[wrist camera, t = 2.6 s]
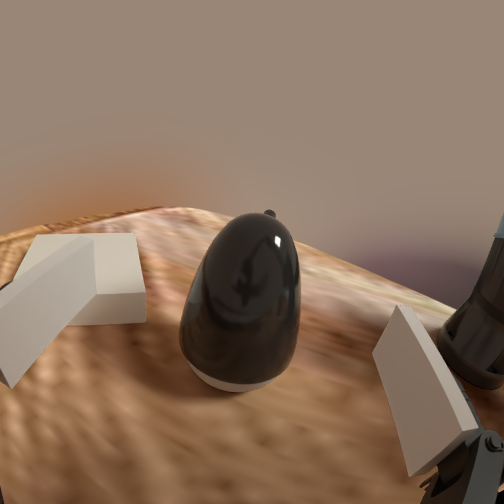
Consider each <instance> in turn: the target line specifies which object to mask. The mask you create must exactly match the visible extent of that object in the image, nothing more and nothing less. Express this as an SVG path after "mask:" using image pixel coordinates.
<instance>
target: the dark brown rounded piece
mask: <svg viewBox="0 0 504 504" xmlns="http://www.w3.org/2000/svg"><path fill="white" fill-rule="evenodd" d="M275 217H276V214H275V213H274V211H272V210H266V211H265V212H264V214H262V213H248V214H244V215H241V216H238V217H236V218H234V219H233V220H231V221H230V222H229V223H228V224H227V225H226V226H225V227H224V228H223V229H222V230H221V231H220V232H219V234H218V235H217V236H216V237H215V239H214V240H213V242H212V243H211V245H210V246H209V248H208V250H207V251H206V253H205V255H204V257H203V259H202V261H201V263H200V265H199V267H198V270H197V272H196V274H195V277H194V279H193V281H192V284H191V287H190V289H189V292H188V295H187V298H186V301H185V305H184V309H183V313H182V317H181V321H180V328H179V343H180V347H181V350H182V352H183V354H184V356H185V357H186V359H187V361H188V363H189V365H190V367H191V368H192V370H193V371H194V372H195V373H196V374H197V375H198V376H199V377H200V378H201V379H202V380H203V381H205V382H206V383H208V384H209V385H211V386H213V387H215V388H218V389H221V390H224V391H229V392H247V391H252V390H255V389H258V388H261V387H263V386H265V385H266V384H268V383H270V382H271V381H272V380H273V379H275V378H276V377H277V376H278V375H280V374H281V373H282V372H283V371H285V369H286V368H287V367H288V366H289V364H290V362H291V360H292V358H293V355H294V352H295V348H296V344H297V338H298V332H299V325H300V315H301V275H300V266H299V260H298V255H297V251H296V248H295V245H294V242H293V239H292V237H291V235H290V233H289V231H288V230H287V228H286V227H285V226H284V225H283V224H282V223H281V222H279V221H278V220H277V219H275Z"/></svg>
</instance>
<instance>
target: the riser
mask: <svg viewBox="0 0 504 504" xmlns="http://www.w3.org/2000/svg"><path fill="white" fill-rule="evenodd" d="M79 236H82V237H86V238H90V239H93V240H94V264H95V279H96V291H97V294H96V295H95V296H94V297H93V298H92V299H91V300H90V301H89V302H88V303H87V304H86V305H85V306H84V307H83V308H82V309H81V310H80V311H79V312H78V313H77V314H76V316H75V317H74V318H73V319H72V320H71V321H70V322H69V323H68V324H67V325H66V326H84V325H110V324H129V323H145V322H146V291H145V286H144V281H143V276H142V271H141V266H140V260H139V254H138V248H137V242H136V236H135V233H94V234H51V235H37V236H36V238H35V239H34V241H33V243H32V245H31V246H30V248H29V250H28V252H27V254H26V255H25V257H24V259H23V261H22V263H21V265H20V267H19V269H18V271H17V273H16V275H15V277H14V279H13V280H15V279H17V278H18V277H19V276H21V275H22V274H23V273H25V272H26V271H28V270H29V269H31V268H32V267H33V266H35V265H36V264H38V263H39V262H41V261H42V260H44V259H45V258H47V257H48V256H50V255H51V254H53V253H54V252H56V251H57V250H59V249H60V248H62V247H63V246H65V245H66V244H68V243H70V242H71V241H73V240H74V239H76V238H78V237H79Z"/></svg>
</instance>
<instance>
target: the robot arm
mask: <svg viewBox="0 0 504 504" xmlns="http://www.w3.org/2000/svg"><path fill="white" fill-rule="evenodd" d="M494 237H495V239H494V242H493V245H492V247H491V250H490V252H489V255H488V257H487V260H486V262H485V265H484V267H483V270H482V271H481V274H480V276H479V278H478V280H477V283H476V285H475V287H474V289H473V292H472V293H471V295H470V297H469V298H468V299H467V300H466V301H465V303H463V305H462V306H461V307H460V308H459V309H458V310H457V311H456V312H455V313H454V314H453V315H452V316H451V317H450V318H449V319H448V320H447V321H446V322H445V323H444V325H443V327H442V328H441V330H440V332H439V334H438V336H437V343H438V347H439V350H440V352H441V354H442V356H443V357H444V359H445V360H446V362H447V363H448V364H449V365H450V366H451V367H452V369H453V370H454V371H456V372H457V373H458V374H459V375H460V376H461V377H463V378H464V379H466V380H467V381H469V382H470V383H472V384H474V385H476V386H479V387H482V388H486V389H495V388H498V387H500V386H502V385H503V383H504V214H503V216H502V219H501V222H500V224H499V227H498V229H497V232H496V233H495V234H494ZM96 294H97V291H96V279H95V264H94V240H93V239H90V238H86V237H82V236H79V237H78V238H76V239H74V240H73V241H71V242H70V243H68V244H66V245H65V246H63V247H62V248H60V249H59V250H57V251H56V252H54V253H53V254H51V255H50V256H48V257H47V258H45V259H44V260H42V261H41V262H39V263H38V264H36V265H35V266H33V267H32V268H31V269H29V270H28V271H26V272H25V273H23V274H22V275H21V276H19V277H18V278H17V279H15V280H13V281H11V282H8V283H6V284H5V285H3V286H2V287H1V288H0V381H1V382H2V383H3V384H5V385H6V386H8V387H9V388H10V389H12V388H13V387H14V386H15V384H16V383H17V382H18V381H19V379H20V378H21V377H22V376H23V374H24V373H25V372H26V371H27V370H28V368H29V367H30V366H31V365H32V364H33V362H34V361H35V360H36V359H37V358H38V357H39V355H40V354H41V353H42V352H43V351H44V350H45V348H46V347H47V346H48V345H49V344H50V343H51V342H52V341H53V339H54V338H55V337H56V336H57V335H58V334H59V333H60V332H61V331H62V329H63V328H64V327H65V326H66V325H67V324H68V323H69V322H70V321H71V320H72V319H73V318H74V317H75V316H76V314H77V313H78V312H79V311H80V310H81V309H82V308H83V307H84V306H85V305H86V304H87V303H88V302H89V301H90V300H91V299H92V298H93V297H94V296H95V295H96ZM372 355H373V358H374V361H375V364H376V366H377V369H378V372H379V375H380V378H381V381H382V384H383V387H384V390H385V393H386V396H387V400H388V403H389V406H390V409H391V413H392V416H393V419H394V423H395V426H396V429H397V433H398V437H399V440H400V444H401V448H402V451H403V455H404V459H405V463H406V467H407V471H408V475H409V477H412V476H417V475H422V474H426V473H427V472H429V471H430V470H431V469H432V468H434V467H435V466H436V465H437V467H438V470H439V471H438V472H436V473H435V474H434V475H432V476H431V477H430V478H428V479H427V480H425V481H424V482H423V483H422V484H421V485H420V486H419V487H421V488H422V487H423V486H425V485H426V484H428V483H429V482H430V484H429V486H428V487H426V488H425V489H424V490H426V493H425V495H424V497H423V499H422V501H421V503H420V504H504V490H503V491H501V492H498V489H499V486H501V485H502V484H503V483H504V441H503V439H502V437H501V436H500V435H499V434H498V433H497V432H496V431H494V430H491V429H490V430H484V428H483V426H482V424H481V421H480V419H479V417H478V415H477V413H476V411H475V409H474V407H473V405H472V403H471V401H469V397H468V395H467V394H466V393H465V390H464V388H463V386H462V384H461V382H460V381H459V380H458V379H457V378H456V377H455V376H454V374H453V373H452V372H450V370H449V369H448V367H447V365H446V363H445V362H444V360H443V358H442V356H441V355H440V353H439V351H438V350H437V348H436V346H435V345H434V343H433V341H432V340H431V338H430V336H429V335H428V333H427V332H426V330H425V328H424V327H423V325H422V324H421V322H420V320H419V319H418V317H417V316H416V314H415V313H414V311H413V310H412V308H411V307H408V306H402V305H396V307H395V310H394V312H393V314H392V316H391V318H390V320H389V322H388V324H387V326H386V328H385V330H384V331H383V333H382V335H381V337H380V339H379V341H378V343H377V345H376V346H375V348H374V350H373V352H372ZM0 504H4V500H3V496H2V492H1V487H0Z"/></svg>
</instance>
